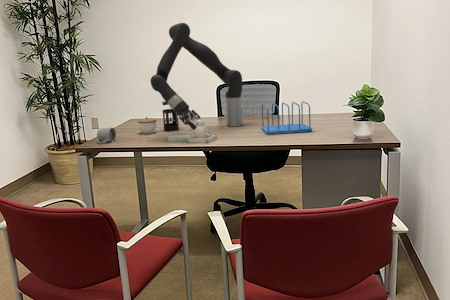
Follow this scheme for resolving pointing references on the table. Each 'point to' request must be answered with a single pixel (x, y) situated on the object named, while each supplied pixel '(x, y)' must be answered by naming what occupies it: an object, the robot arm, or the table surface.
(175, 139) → the mat
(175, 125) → the french press
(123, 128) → the table surface
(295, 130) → the file sorter
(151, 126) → the lidded jar
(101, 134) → the ceramic mug
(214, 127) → the table surface
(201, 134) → the figurine
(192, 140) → the holder
